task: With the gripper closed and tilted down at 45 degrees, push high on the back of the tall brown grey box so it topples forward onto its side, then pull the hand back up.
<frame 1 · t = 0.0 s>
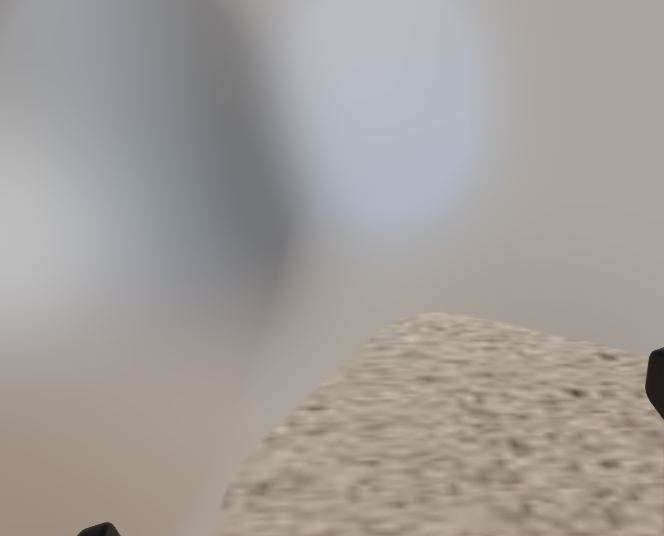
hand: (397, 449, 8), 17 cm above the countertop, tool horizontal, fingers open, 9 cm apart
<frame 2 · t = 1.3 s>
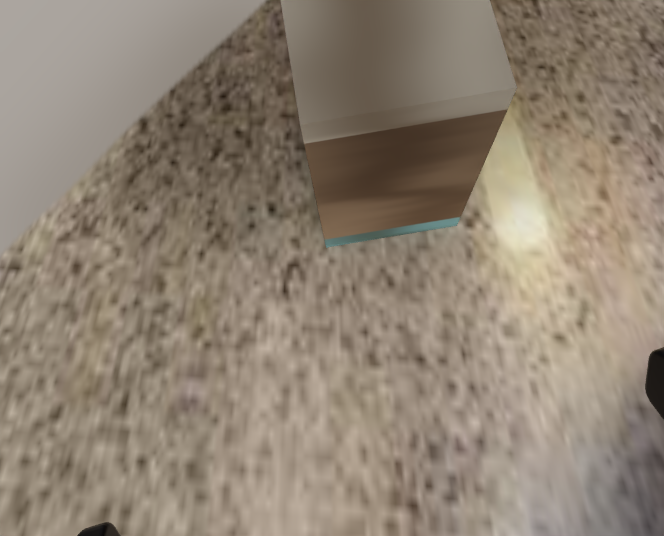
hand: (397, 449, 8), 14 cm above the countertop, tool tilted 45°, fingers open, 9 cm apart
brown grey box: (379, 177, 25), on the countertop
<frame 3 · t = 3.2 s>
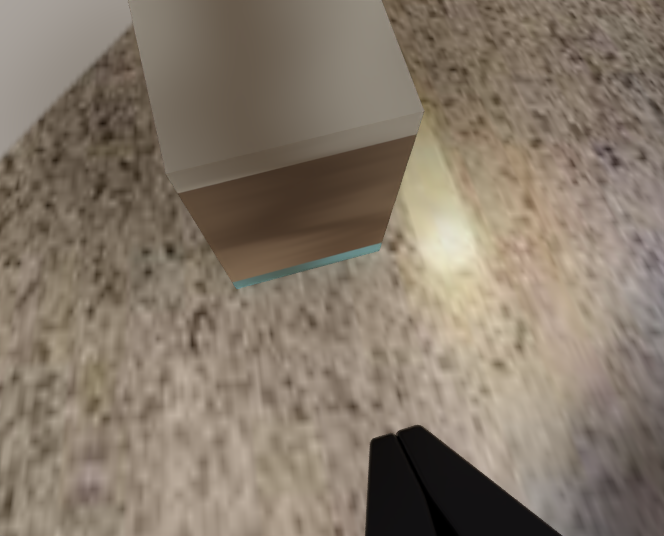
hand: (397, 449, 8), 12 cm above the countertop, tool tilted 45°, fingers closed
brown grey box: (290, 204, 22), on the countertop
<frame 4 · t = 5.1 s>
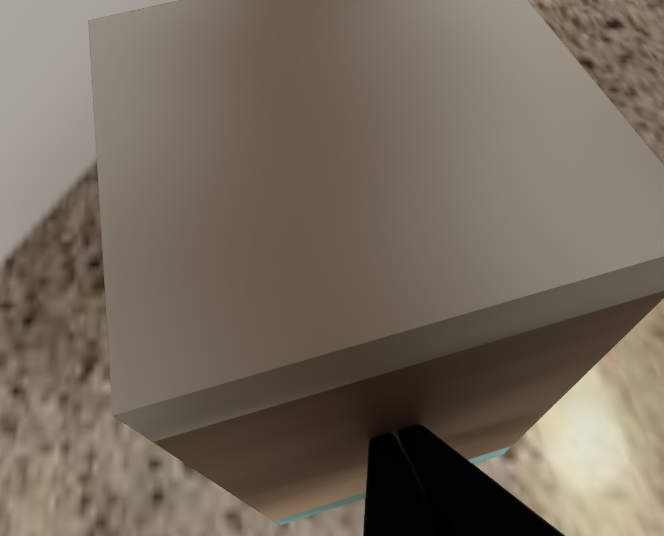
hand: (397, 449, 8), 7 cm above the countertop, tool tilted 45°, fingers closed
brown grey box: (358, 380, 15), point 1 cm above the countertop, tilted 14°, touching gripper
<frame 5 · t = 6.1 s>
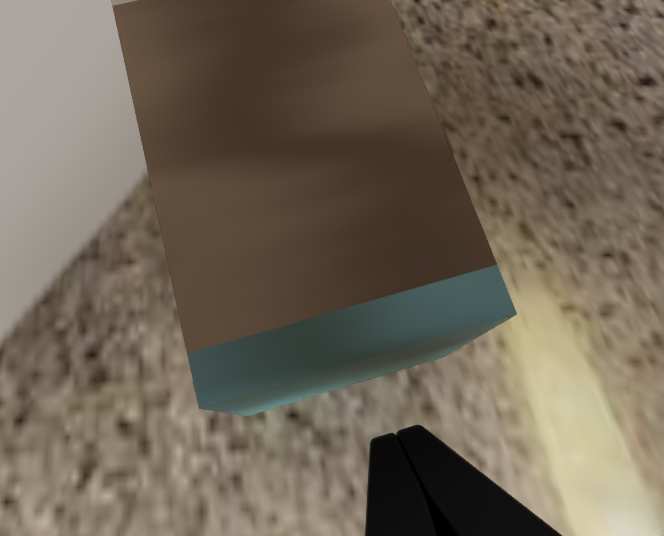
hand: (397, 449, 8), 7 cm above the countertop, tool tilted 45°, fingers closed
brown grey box: (353, 375, 12), point 3 cm above the countertop, tilted 90°
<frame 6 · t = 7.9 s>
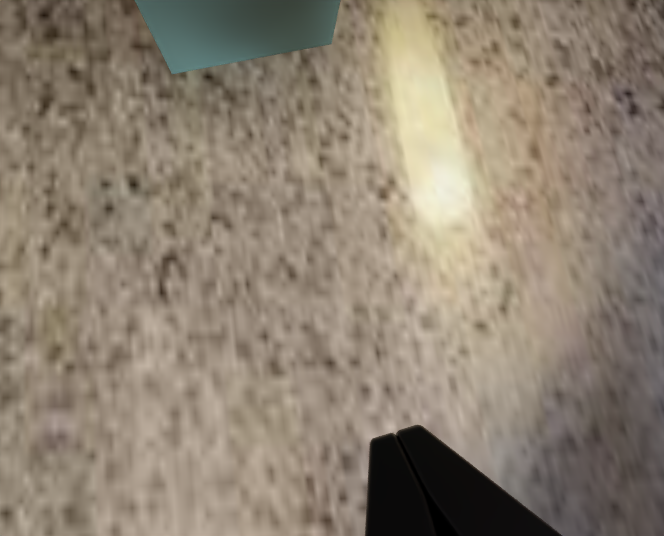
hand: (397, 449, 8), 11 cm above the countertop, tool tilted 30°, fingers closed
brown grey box: (247, 17, 17), point 3 cm above the countertop, tilted 90°
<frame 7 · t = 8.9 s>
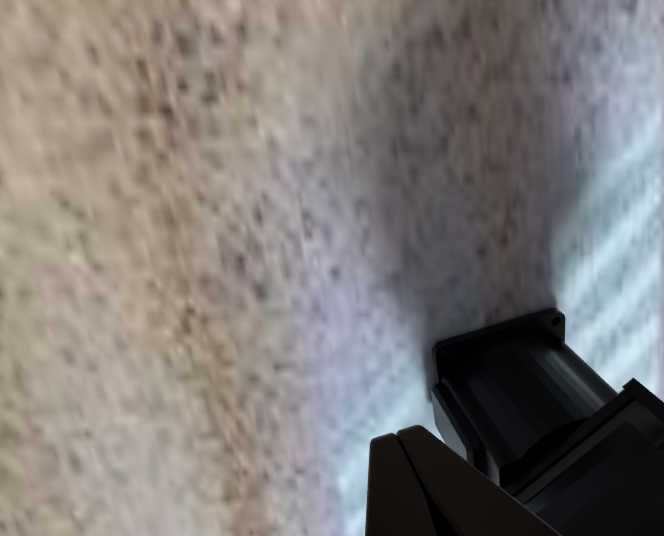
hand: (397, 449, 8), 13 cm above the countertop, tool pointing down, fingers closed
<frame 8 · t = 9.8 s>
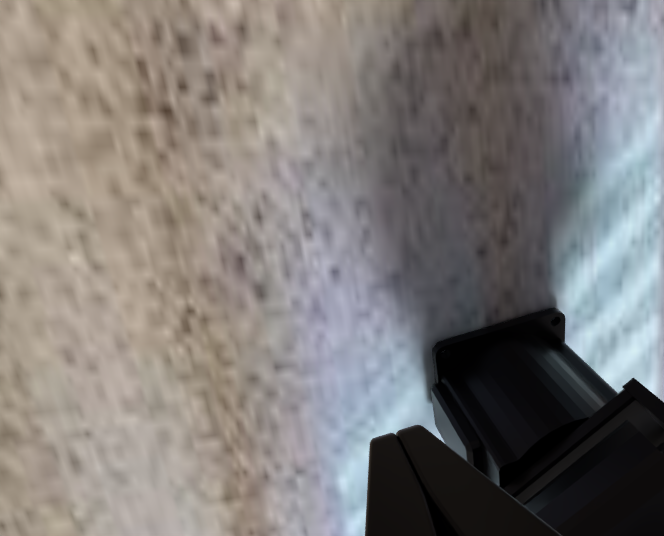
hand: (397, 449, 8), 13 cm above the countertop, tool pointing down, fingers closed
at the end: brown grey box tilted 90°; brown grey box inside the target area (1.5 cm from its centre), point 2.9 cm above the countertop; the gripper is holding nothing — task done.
